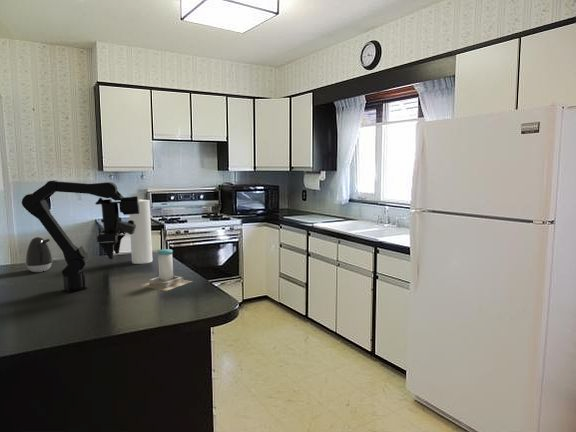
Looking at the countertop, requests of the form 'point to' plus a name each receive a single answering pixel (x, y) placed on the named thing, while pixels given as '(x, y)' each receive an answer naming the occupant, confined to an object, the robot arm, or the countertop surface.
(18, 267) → the countertop surface
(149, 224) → the cylinder container
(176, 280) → the housing
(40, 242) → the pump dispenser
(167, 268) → the white tall cylindrical piece
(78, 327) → the countertop surface
